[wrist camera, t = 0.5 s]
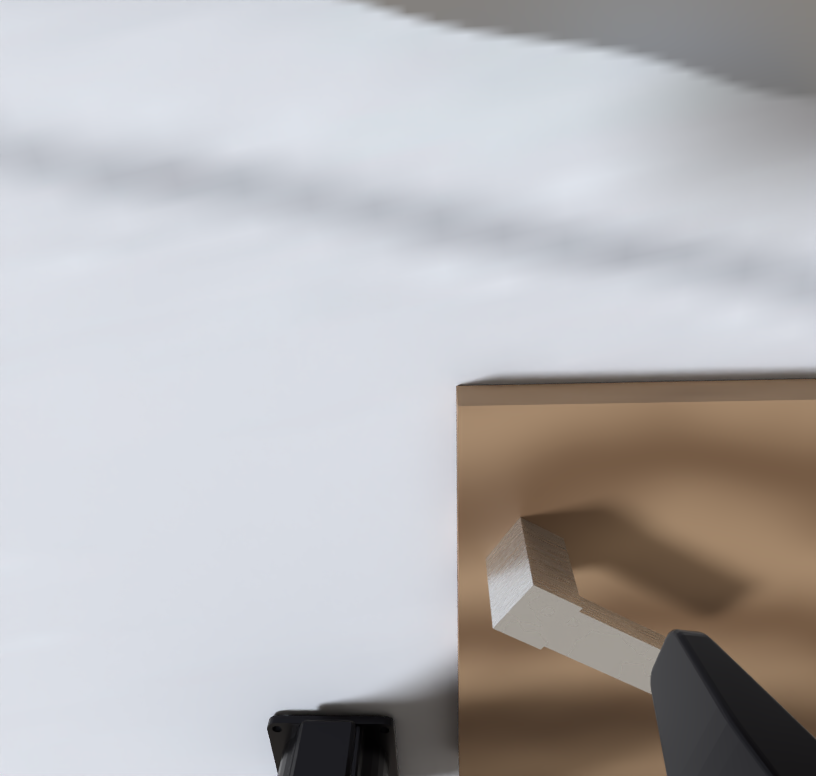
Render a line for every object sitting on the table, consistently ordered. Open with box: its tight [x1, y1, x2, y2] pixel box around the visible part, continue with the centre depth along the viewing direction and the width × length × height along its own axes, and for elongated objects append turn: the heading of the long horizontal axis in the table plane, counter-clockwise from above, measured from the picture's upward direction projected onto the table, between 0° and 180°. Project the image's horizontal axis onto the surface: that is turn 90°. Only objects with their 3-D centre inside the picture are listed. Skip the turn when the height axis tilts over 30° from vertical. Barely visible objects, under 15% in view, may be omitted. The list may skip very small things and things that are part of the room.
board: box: [456, 379, 816, 776], centre depth 26 cm, size 22×23×2 cm
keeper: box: [485, 517, 666, 694], centre depth 23 cm, size 8×2×3 cm, turn 60°
